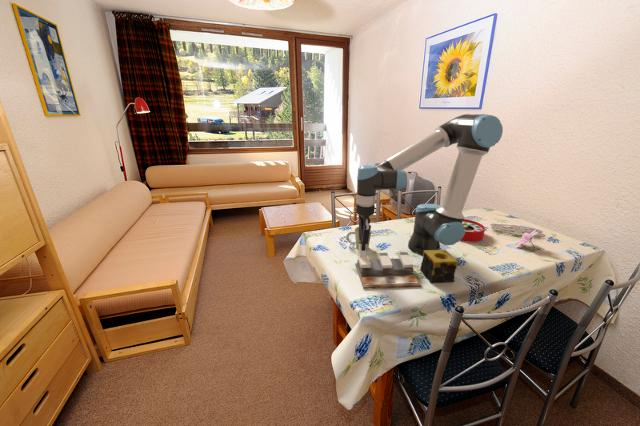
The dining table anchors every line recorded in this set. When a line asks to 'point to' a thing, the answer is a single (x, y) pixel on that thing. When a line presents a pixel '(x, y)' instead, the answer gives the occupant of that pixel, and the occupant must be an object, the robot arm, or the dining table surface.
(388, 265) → the rocker middle
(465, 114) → the robot arm
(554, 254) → the dining table surface
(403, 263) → the block
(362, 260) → the block
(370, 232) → the mug
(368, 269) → the switch board
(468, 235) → the toy clock
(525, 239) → the lily
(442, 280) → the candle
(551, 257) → the dining table surface
